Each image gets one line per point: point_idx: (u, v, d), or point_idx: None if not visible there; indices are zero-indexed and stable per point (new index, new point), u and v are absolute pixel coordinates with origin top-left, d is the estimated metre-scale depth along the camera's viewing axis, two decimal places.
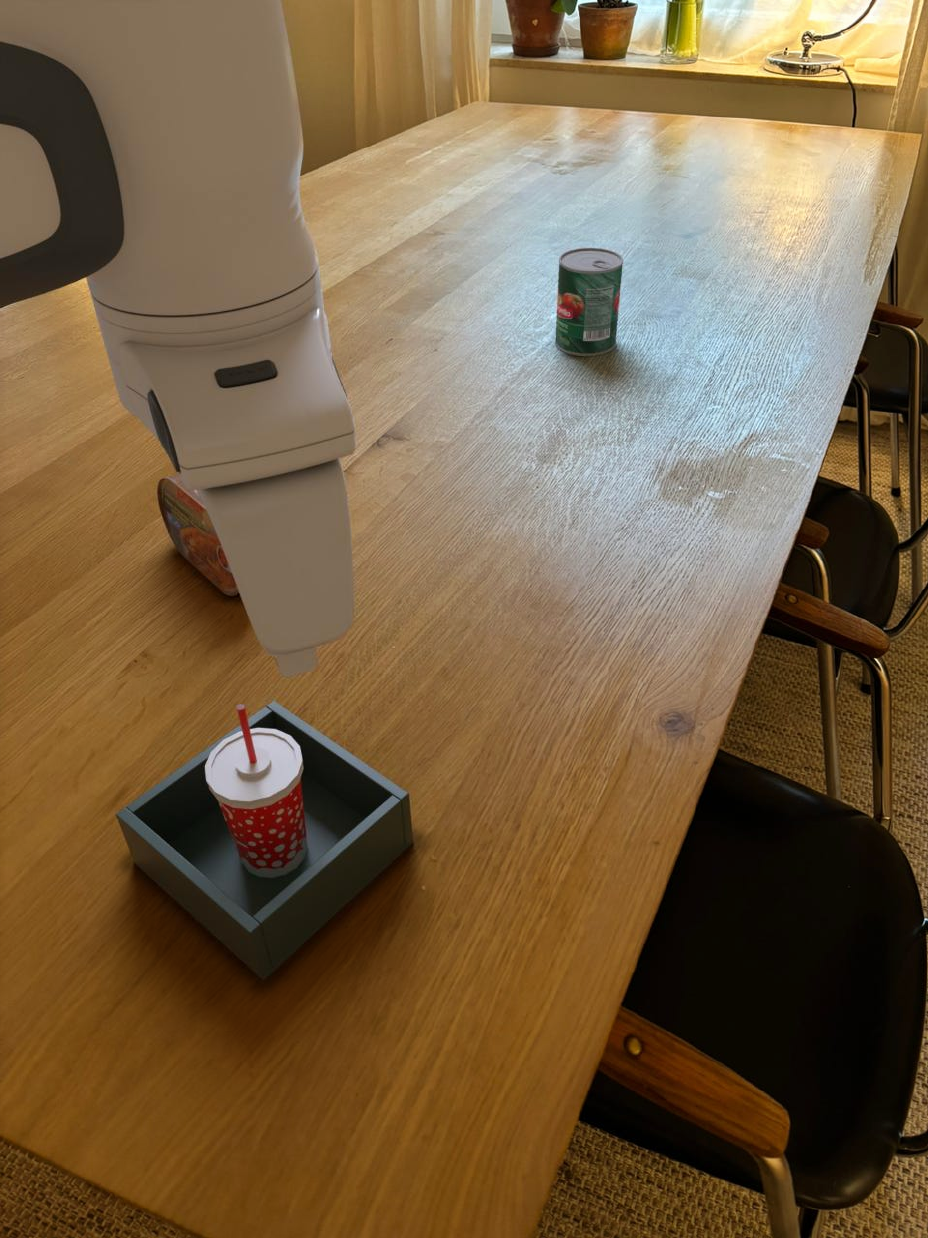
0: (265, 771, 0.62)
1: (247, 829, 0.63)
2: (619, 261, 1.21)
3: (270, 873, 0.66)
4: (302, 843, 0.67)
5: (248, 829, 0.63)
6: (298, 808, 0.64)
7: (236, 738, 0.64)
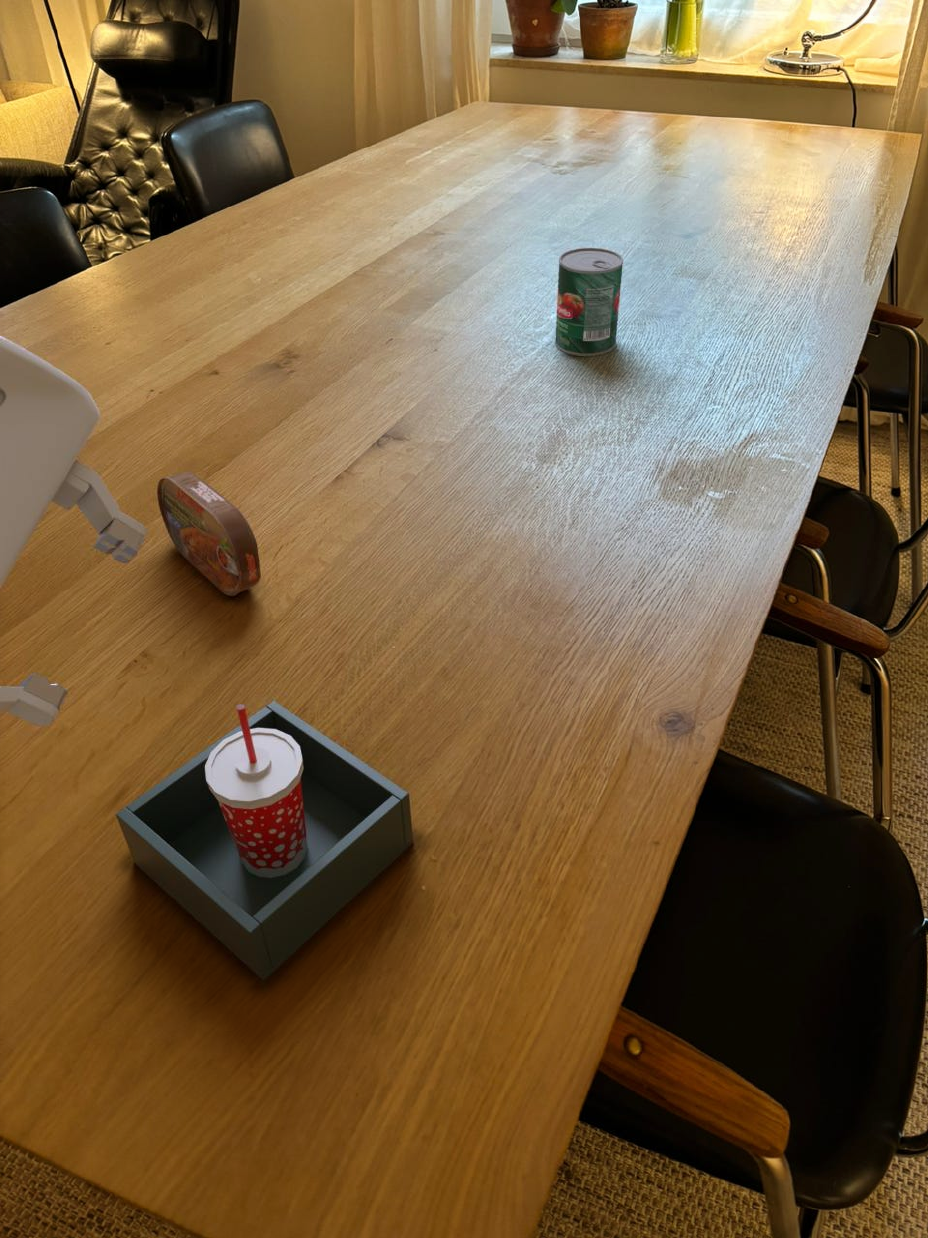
0: (265, 771, 0.62)
1: (247, 829, 0.63)
2: (619, 261, 1.21)
3: (270, 873, 0.66)
4: (302, 843, 0.67)
5: (248, 829, 0.63)
6: (298, 808, 0.64)
7: (236, 738, 0.64)
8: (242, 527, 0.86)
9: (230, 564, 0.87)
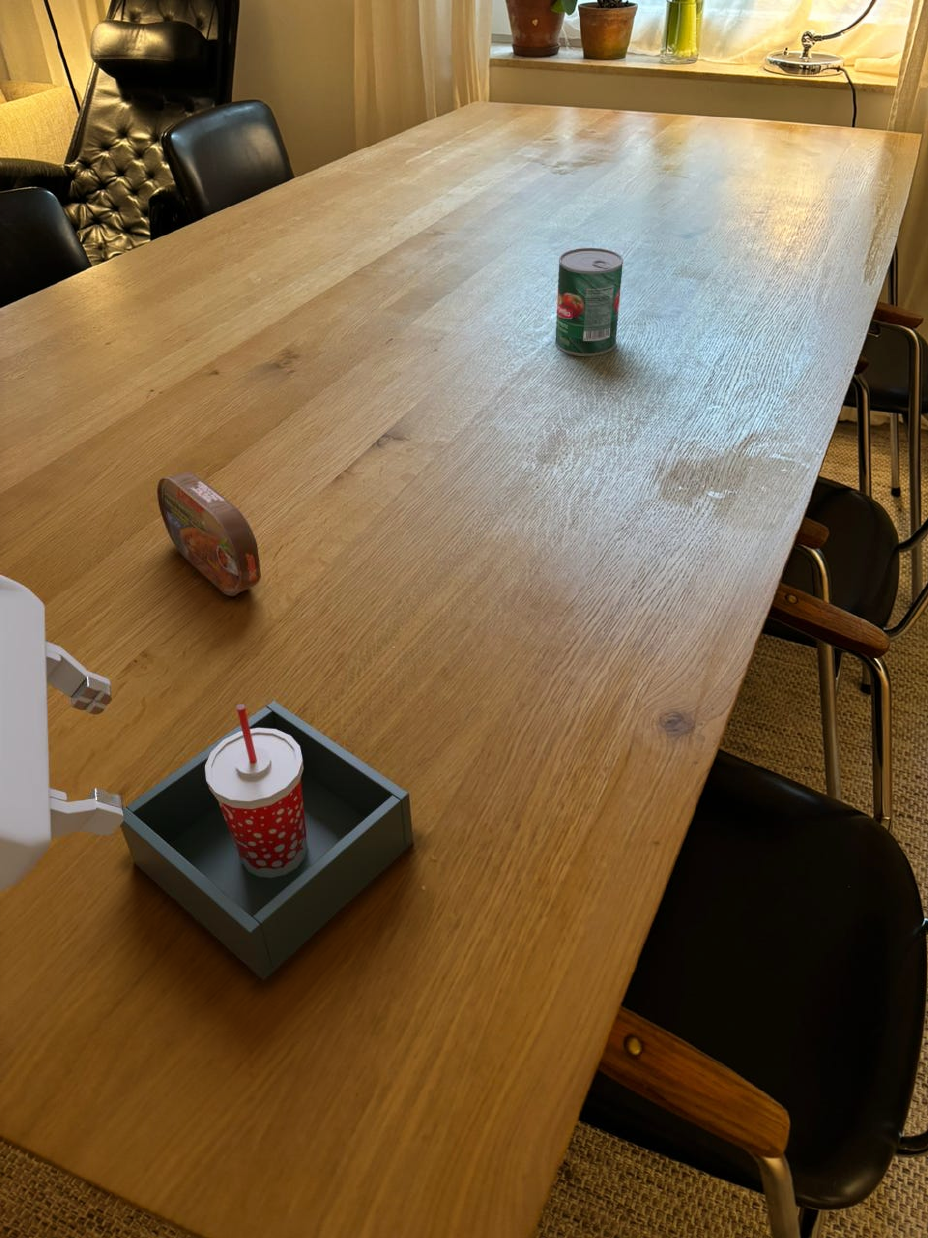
0: (265, 771, 0.62)
1: (247, 829, 0.63)
2: (619, 261, 1.21)
3: (270, 873, 0.66)
4: (302, 843, 0.67)
5: (248, 829, 0.63)
6: (298, 808, 0.64)
7: (236, 738, 0.64)
8: (242, 527, 0.86)
9: (230, 564, 0.87)
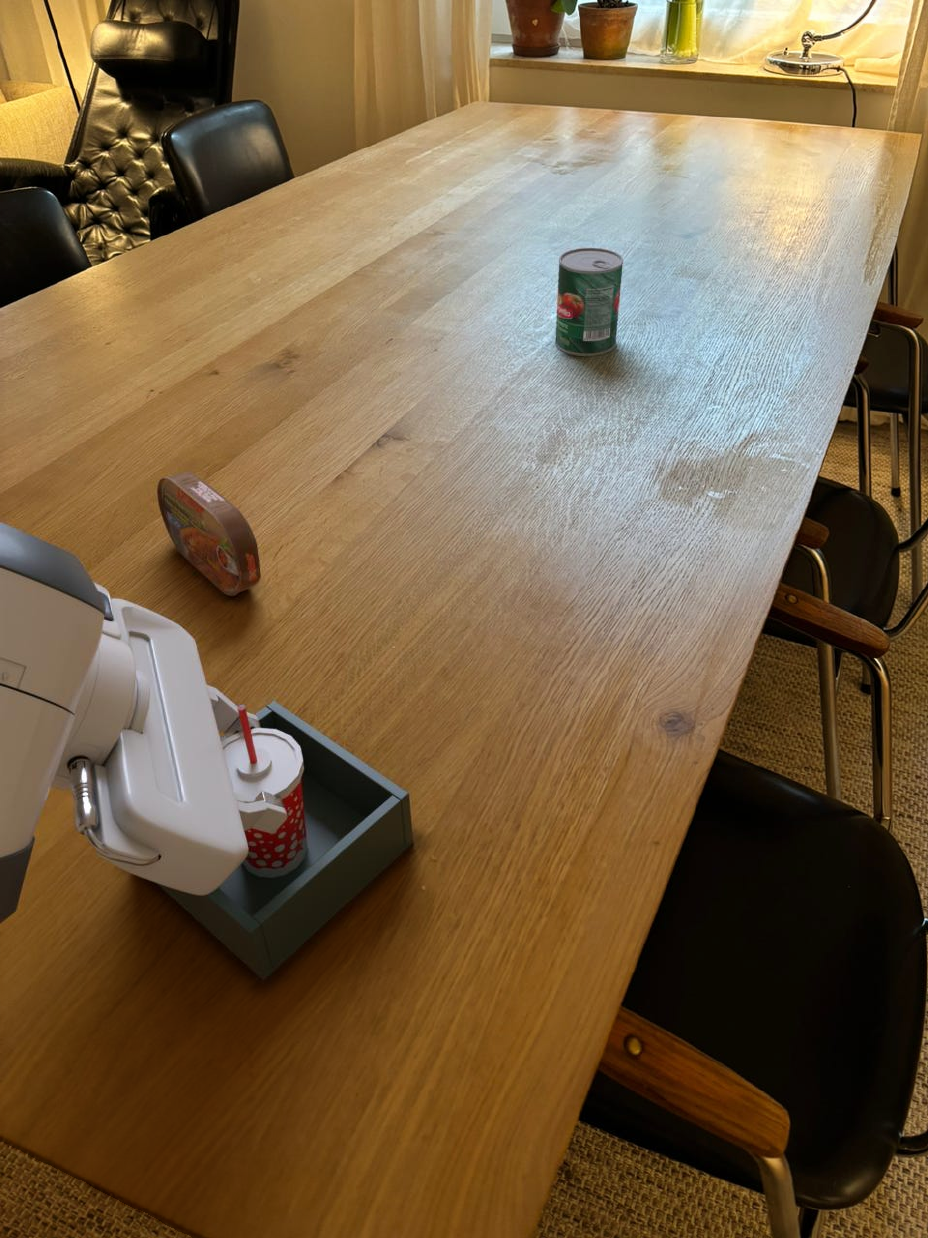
0: (265, 771, 0.62)
1: None
2: (619, 261, 1.21)
3: (270, 873, 0.66)
4: (302, 843, 0.67)
5: (248, 829, 0.63)
6: (298, 808, 0.64)
7: (236, 738, 0.64)
8: (242, 527, 0.86)
9: (230, 564, 0.87)
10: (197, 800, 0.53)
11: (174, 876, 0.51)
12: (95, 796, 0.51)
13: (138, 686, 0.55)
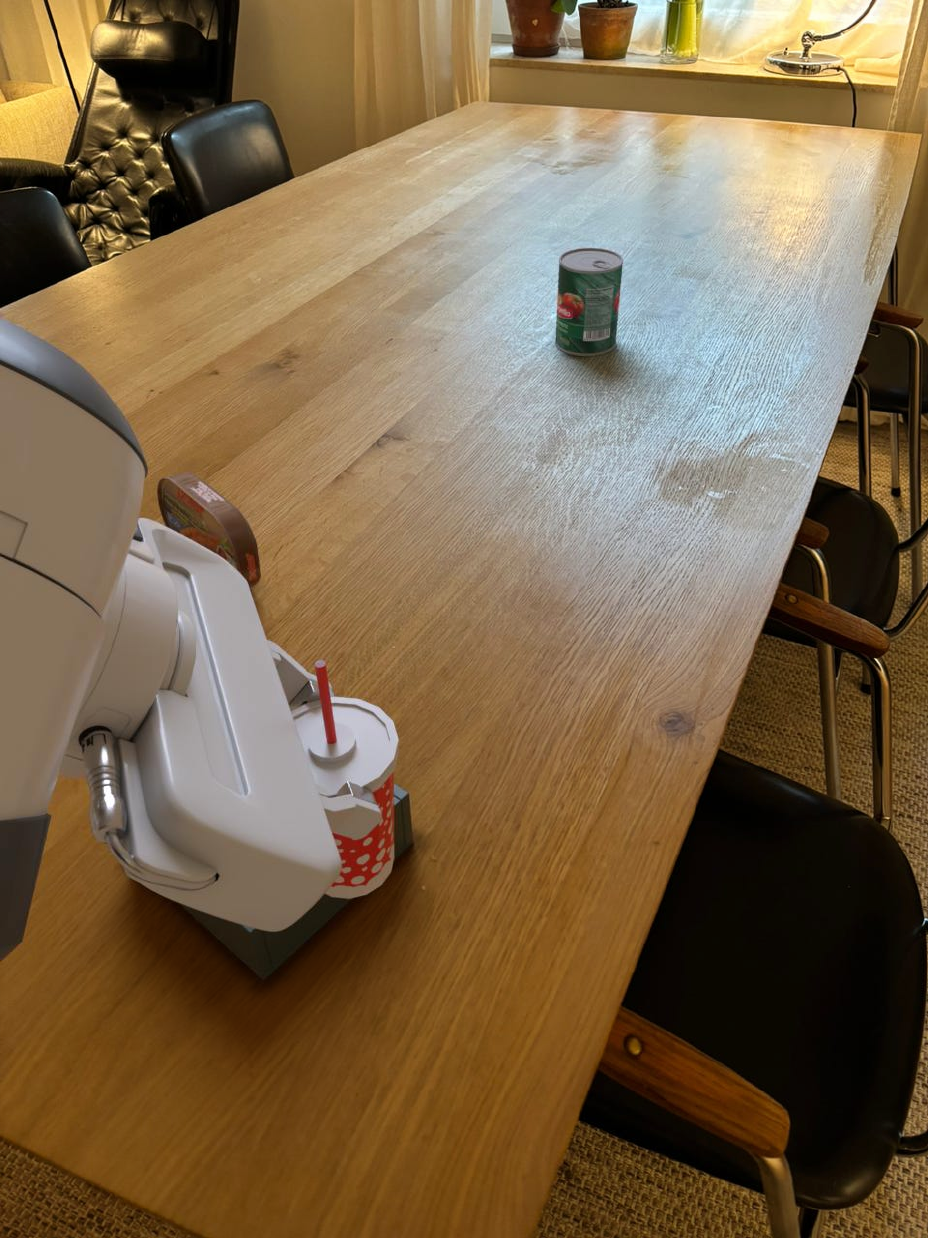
0: (349, 754, 0.45)
1: None
2: (619, 261, 1.21)
3: (348, 892, 0.49)
4: (390, 852, 0.50)
5: None
6: (389, 805, 0.47)
7: (306, 710, 0.47)
8: (242, 527, 0.86)
9: None
10: (268, 793, 0.37)
11: (237, 905, 0.35)
12: (121, 786, 0.34)
13: (180, 629, 0.38)
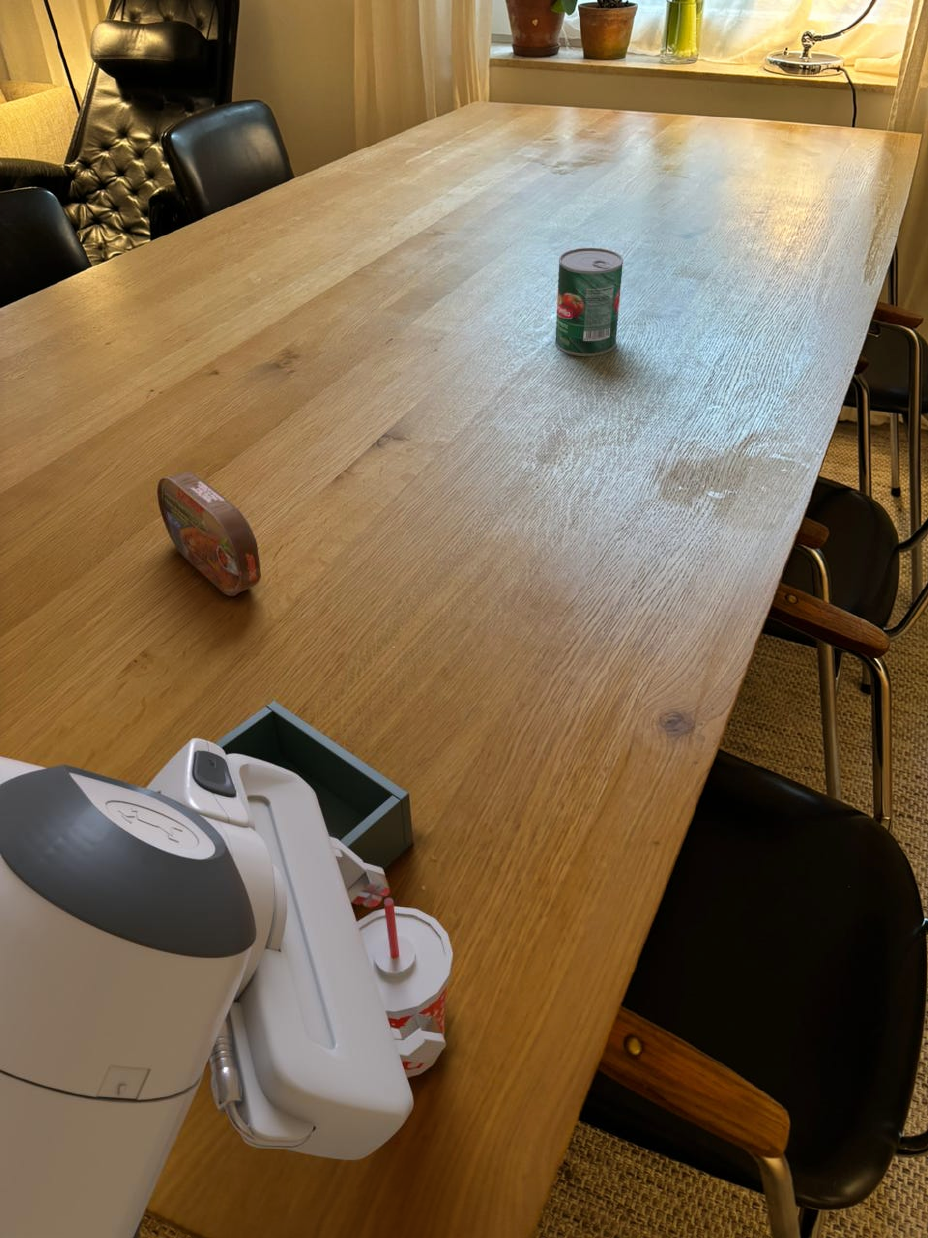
0: (410, 968, 0.52)
1: None
2: (619, 261, 1.21)
3: None
4: None
5: None
6: (443, 1005, 0.54)
7: (371, 920, 0.54)
8: (242, 527, 0.86)
9: (230, 564, 0.87)
10: (351, 1041, 0.43)
11: (328, 1146, 0.41)
12: (233, 1051, 0.40)
13: None
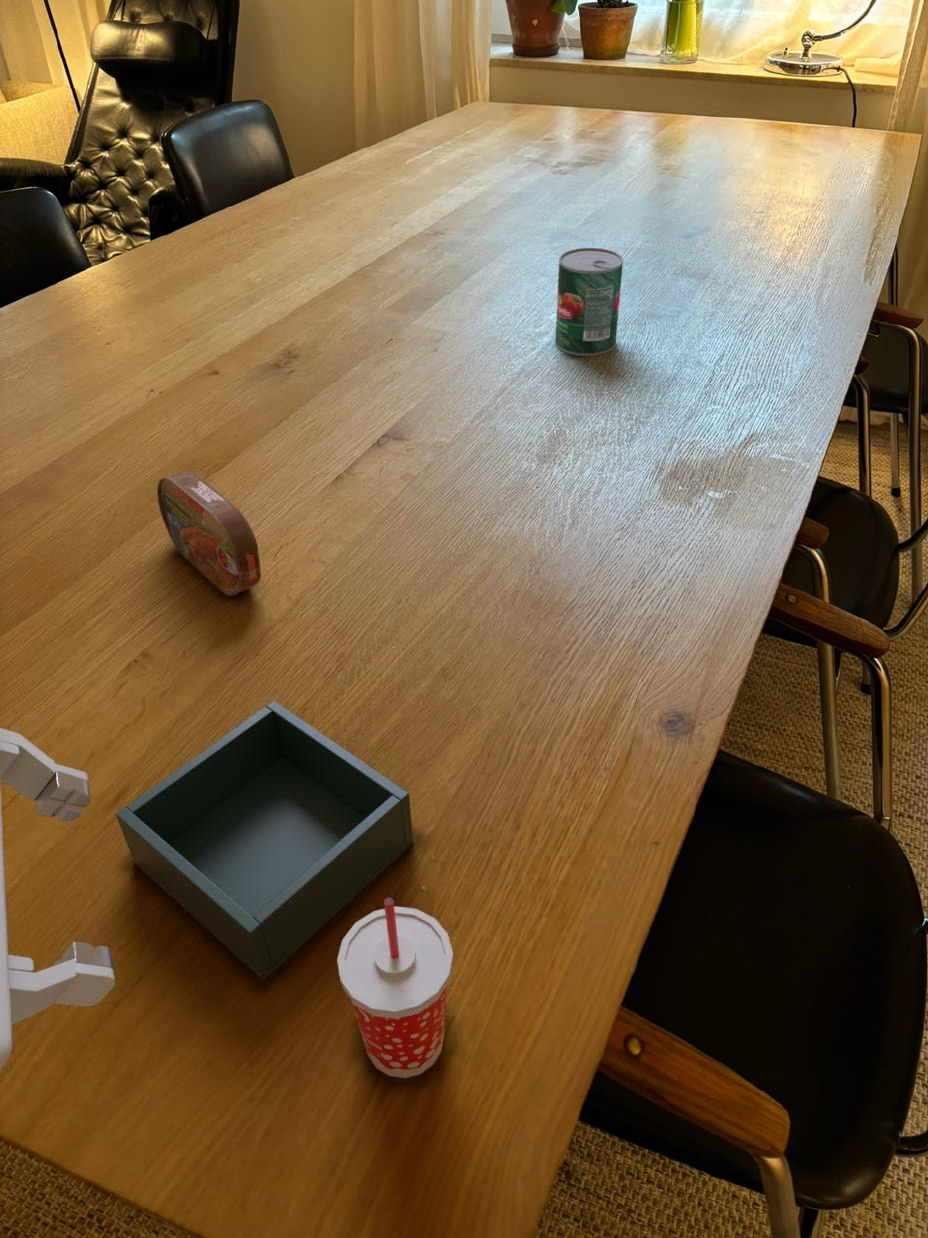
0: (410, 968, 0.52)
1: (385, 1034, 0.53)
2: (619, 261, 1.21)
3: (404, 1074, 0.56)
4: (441, 1038, 0.56)
5: (387, 1034, 0.53)
6: (443, 1005, 0.54)
7: (371, 920, 0.54)
8: (242, 527, 0.86)
9: (230, 564, 0.87)
10: None
11: None
12: None
13: None
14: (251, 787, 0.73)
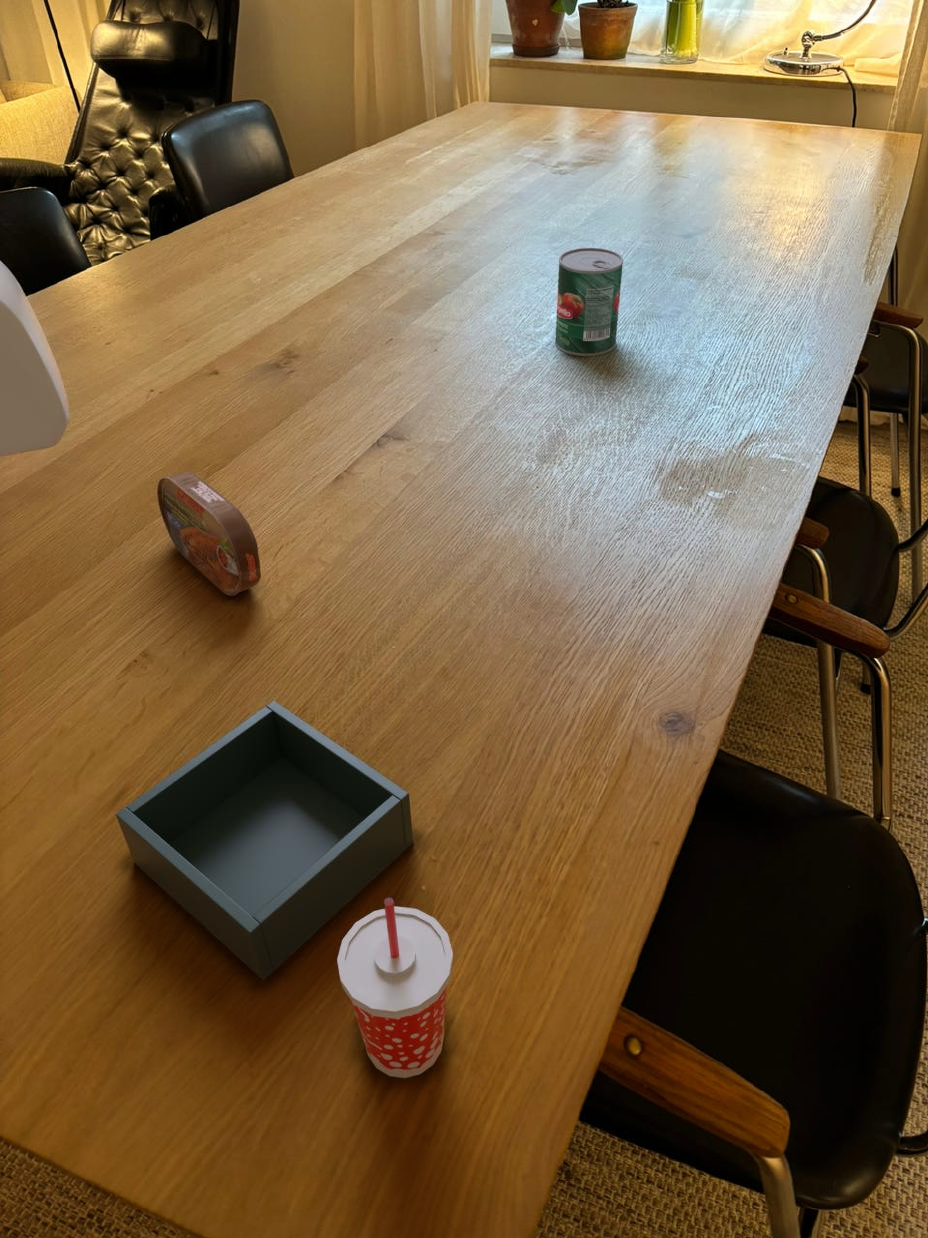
0: (410, 968, 0.52)
1: (385, 1034, 0.53)
2: (619, 261, 1.21)
3: (404, 1074, 0.56)
4: (441, 1038, 0.56)
5: (387, 1034, 0.53)
6: (443, 1005, 0.54)
7: (371, 920, 0.54)
8: (242, 527, 0.86)
9: (230, 564, 0.87)
10: None
11: None
12: None
13: None
14: (251, 787, 0.73)
